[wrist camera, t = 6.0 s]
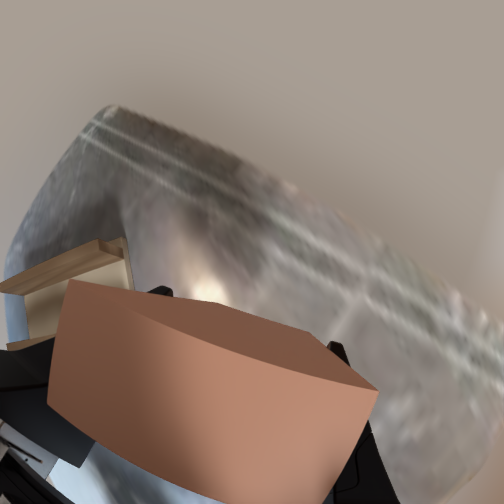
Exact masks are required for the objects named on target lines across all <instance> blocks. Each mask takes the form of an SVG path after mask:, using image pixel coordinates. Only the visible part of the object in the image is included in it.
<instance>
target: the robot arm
mask: <svg viewBox="0 0 504 504" xmlns="http://www.w3.org/2000/svg"><path fill="white" fill-rule="evenodd" d="M146 293H152V294H158V295H164V296H170V297H173V290H172V289H171V288H168V287H166V286H159V287H157V288H155V289H153V290H151V291H148V292H146ZM55 337H56V336H55ZM55 337H52V338H50V339H47V340H44V341H42V342H39V343H36V344H34V345H31V346H28V347H26V348H23V349H20V350H13V351H7V350H0V504H75V503H73V502H72V501H71V500H69V499H68V498H67V497H65V496H64V495H63V494H62V493H60V492H59V491H58V490H57V489H55V488H54V487H53V486H52V485H50V484H49V483H48V482H47V481H46V478H47V476H48V475H49V473H50V472H51V470H52V468H53V467H54V465H55V464H56V462H57V460H58V459H59V458H60V459H62V460H64V461H66V462H68V463H70V464H72V465H74V466H76V467H78V468H80V467H81V465H82V464H83V462H84V460H85V459H86V457H87V455H88V453H89V452H90V450H91V448H92V447H93V445H94V443H95V442H96V441H95V440H93V439H92V438H91V437H89V436H88V435H86V434H85V433H83V432H82V431H81V430H79V429H78V428H77V427H75V426H74V425H73V424H71V423H70V422H69V421H67V420H66V419H65V418H64V417H62V416H61V415H60V414H59V413H57V412H56V411H55V410H54V409H53V408H51V407H50V406H49V405H48V404H47V396H48V386H49V376H50V368H51V361H52V355H53V348H54V343H55ZM326 348H328V349H329V350H330V351H332V352H333V353H334V354H335V355H336V356H338V357H339V358H340V359H341V360H342V361H344V362H345V363H346V364H347V365H348V366H349V367H350V364H349V361H348V358H347V355H346V353H345V350H344V347H343V345H342V344H341V343H338V342H335V341H330V342H329V344H328V345H327V347H326ZM371 432H372V430H371V427H370V423H369V420H367V422H366V425H365V427H364V429H363V431H362V433H361V435H360V437H359V439H358V442H357V444H356V446H355V448H354V449H353V451H352V453H351V455H350V457H349V459H348V461H347V463H346V465H345V466H344V468H343V470H342V472H341V473H340V475H339V477H338V479H337V480H336V482H335V484H334V485H333V487H332V489H331V490H330V492H329V493H328V495H327V497H326V498H325V500H324V501H323V503H322V504H400V502H399V500H398V498H397V496H396V494H395V491H394V489H393V486H392V484H391V482H390V479H389V477H388V475H387V472H386V470H385V467H384V465H383V462H382V460H381V457H380V455H379V452H378V449H377V446H376V443H375V439H374V436H373V433H371Z"/></svg>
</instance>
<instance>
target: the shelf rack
mask: <svg viewBox="0 0 504 504" xmlns="http://www.w3.org/2000/svg"><path fill="white" fill-rule="evenodd" d="M69 278H70V279H75V280H80V281H85V282H90V283H95V284H100V285H105V286H111V287H116V288H122V289H128V290H133V291H135V289H134V284H133V278H132V272H131V266H130V260H129V253H128V246H127V239H125V238H123V237H119V238H117V239H114V240H111V241H109V242H105V241H103V240H101V239H98V238H97V239H95V240H93V241H90V242H88V243H85V244H83V245H81V246H78V247H76V248H74V249H71V250H69V251H67V252H64V253H62V254H60V255H58V256H55V257H53V258H51V259H49V260H47V261H44V262H42V263H40V264H38V265H36V266H34V267H32V268H30V269H27V270H25V271H23V272H21V273H19V274H17V275H15V276H13V277H11V278H9V279H7V280H5V281H3V282H1V283H0V292H2V293H8V294H15V295H22V296H24V300H25V309H26V316H27V323H28V330H29V336H30V339H27V340H22V341H17V342H12V343H7V344H6V345H7V350H8V351H13V350H20V349H23V348H26V347H28V346H31V345H34V344H36V343H39V342H42V341H44V340H47V339H50V338H52V337H55V336H56V332H57V327H58V322H59V317H60V313H61V309H62V305H63V300H64V297H65V293H66V289H67V285H68V282H69Z"/></svg>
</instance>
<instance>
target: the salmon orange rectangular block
mask: <svg viewBox="0 0 504 504" xmlns="http://www.w3.org/2000/svg"><path fill="white" fill-rule="evenodd" d="M378 394H379V391H378V390H377V389H376V388H375V387H374V386H372V385H371V384H370V383H369V382H367V381H366V380H365V379H364V378H363V377H361V376H360V375H359V374H358V373H357V372H355V371H354V370H353V369H352V368H351V367H349V366H348V365H347V364H346V363H345V362H344V361H342V360H341V359H340V358H339V357H338V356H336V355H335V354H334V353H333V352H332V351H330V350H329V349H328V348H326V346H325V345H323V344H322V343H321V342H320V341H319V340H318V339H316V338H315V337H314V336H313V335H312V334H311V333H309V332H307V331H303V330H300V329H297V328H293V327H290V326H287V325H283V324H280V323H277V322H274V321H270V320H267V319H264V318H261V317H258V316H255V315H252V314H249V313H246V312H243V311H240V310H237V309H234V308H231V307H228V306H225V305H222V304H219V303H215V302H207V301H199V300H192V299H185V298H178V297H170V296H164V295H158V294H152V293H145V292H139V291H133V290H128V289H122V288H116V287H111V286H105V285H100V284H95V283H90V282H85V281H80V280H75V279H70V278H69V282H68V285H67V289H66V293H65V297H64V300H63V305H62V309H61V313H60V317H59V322H58V327H57V332H56V337H55V343H54V348H53V355H52V361H51V368H50V376H49V386H48V396H47V404H48V405H49V406H50V407H51V408H53V409H54V410H55V411H56V412H57V413H59V414H60V415H61V416H62V417H64V418H65V419H66V420H67V421H69V422H70V423H71V424H73V425H74V426H75V427H77V428H78V429H79V430H81V431H82V432H83V433H85V434H86V435H88V436H89V437H91V438H92V439H93V440H95V441H96V442H98V443H99V444H101V445H103V446H104V447H106V448H107V449H109V450H110V451H112V452H114V453H115V454H117V455H119V456H120V457H122V458H124V459H125V460H127V461H129V462H131V463H133V464H134V465H136V466H138V467H140V468H142V469H144V470H146V471H148V472H150V473H152V474H154V475H156V476H158V477H160V478H162V479H164V480H166V481H168V482H171V483H173V484H175V485H178V486H180V487H182V488H185V489H187V490H190V491H192V492H195V493H197V494H200V495H203V496H205V497H208V498H211V499H214V500H217V501H220V502H223V503H226V504H322V503H323V501H324V500H325V498H326V497H327V495H328V493H329V492H330V490H331V489H332V487H333V485H334V484H335V482H336V480H337V479H338V477H339V475H340V473H341V472H342V470H343V468H344V466H345V465H346V463H347V461H348V459H349V457H350V455H351V453H352V451H353V449H354V448H355V446H356V444H357V442H358V439H359V437H360V435H361V433H362V431H363V429H364V427H365V425H366V422H367V420H368V418H369V416H370V413H371V411H372V409H373V406H374V404H375V402H376V399H377V397H378Z"/></svg>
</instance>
